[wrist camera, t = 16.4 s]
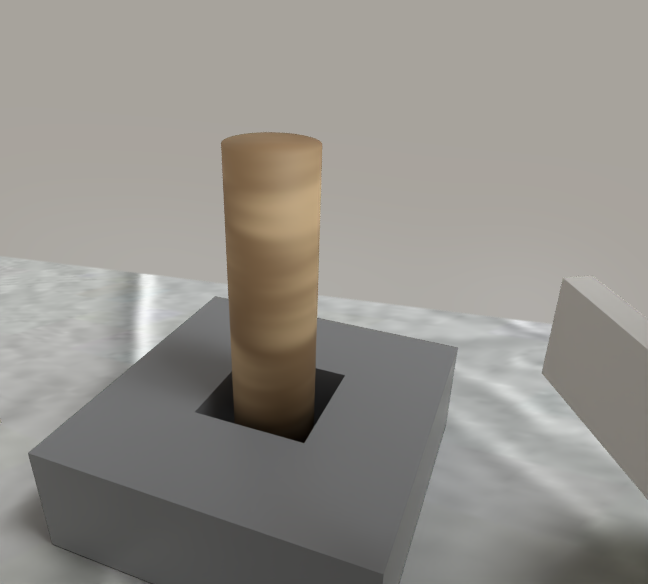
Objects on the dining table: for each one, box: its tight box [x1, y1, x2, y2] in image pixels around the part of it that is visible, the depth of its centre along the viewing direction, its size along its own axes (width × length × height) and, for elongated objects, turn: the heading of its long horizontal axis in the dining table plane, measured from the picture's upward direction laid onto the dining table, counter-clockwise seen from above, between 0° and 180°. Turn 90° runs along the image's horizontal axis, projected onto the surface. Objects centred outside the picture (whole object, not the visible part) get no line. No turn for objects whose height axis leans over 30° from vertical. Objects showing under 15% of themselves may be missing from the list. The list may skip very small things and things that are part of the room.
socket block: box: [28, 296, 458, 584], centre depth 27 cm, size 14×14×5 cm
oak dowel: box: [221, 132, 322, 443], centre depth 24 cm, size 4×4×15 cm
